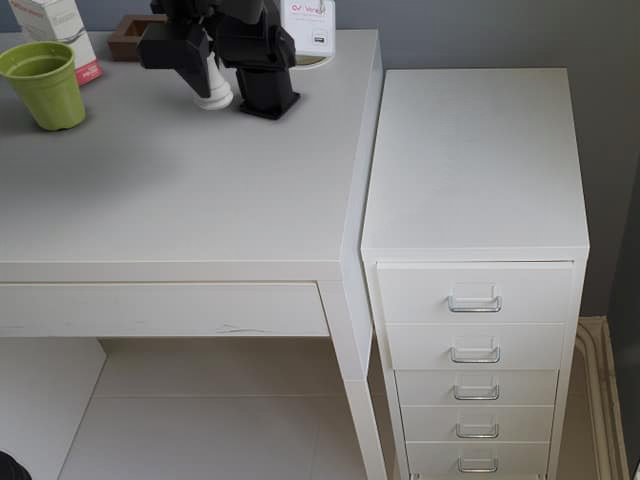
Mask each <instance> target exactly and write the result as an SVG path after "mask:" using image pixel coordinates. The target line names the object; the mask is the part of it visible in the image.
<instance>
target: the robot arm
mask: <svg viewBox="0 0 640 480" xmlns="http://www.w3.org/2000/svg"><path fill="white" fill-rule="evenodd" d="M149 6H150V7H149V8H150V10H151V13H152V15H166V16H167V20H166V22H165V23H150V24H149V25H148V27H147V28H146V30H145V31H144V33H143V35H142V37H141V38H140V40H139V42H138V44H137V46H136V48H135V50H136V53H137V56H138V59H139V61H138V62H139V64H140V66H141V68H142V69H145V70H174V71H175V72H176V73H177V74H178V76H180V77H181V78H182V79H183V80H184V81H185V82H186V84H187V85H188V86H189V87H190V88H191V90H192V89H193V90H194V91H195V92H196V93H197V94H198V95H199V96H200V97H201V98H210V97H211V87H210V78H209V71H208V63H207V58H208V57H209V56H210V55H211V53H212V51H213V52H214V54H215V56H214V61H215V64H216V66H217V68H218V71H219V72H220V61H221V62H222V65H223V67H224V68H225V69H236V70H235V72H234V73H235V77H236V81H237V86H238V90H239V93H240V97H241V99H242V100H243V101H242V102H241V103H239V105H238V106H237V108H238V110H239V111H240V112H244V113H249V114H253V115H258V116H260V117H265V118H269V119H273V120H279V119H281V118H282V117H283V116H284V115H285V114H286V113H287V112H288V111H289V110H290V109H291V108H292V107H293V106H294V105H295V104H297V102H298V101H299V100H301V98H302V97H301V93H299V92H296V91H294V89H293V85H292V79H291V75H290V69H291V68H294V67H296V66H297V64H298V62H297V57H296V53H297V48H296V42H295V39H294V37H293V36H291V35H290V33H289V32H288V31H287V30H286V29H285V28H284V27H283V26H282V23H281V13H280V10H279V8H278V7H277V5H276V3H275V1H274V0H151V1H150V3H149ZM205 31H207V34H208V36H209V37H210V38H212V40H213V41H208V39H207V35H206V32H205ZM219 56H220V57H219Z"/></svg>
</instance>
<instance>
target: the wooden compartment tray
mask: <svg viewBox="0 0 640 480" xmlns="http://www.w3.org/2000/svg"><path fill="white" fill-rule="evenodd" d="M166 20H167V16H166V14H129V13H128V14H123V17H122V18H121V20H120V21H119V23H118V24H117V26H116V27H115V28H114V30H113V32H112V33H111V35H110V36H109V38H108V39H107V41H106V43H107V46H108V48H109V50H110V53H111V56H112V59H113V61H114V62H140V61H139V59H138V56H137V53H136V50H135V48H136V46H137V44H138V42H139V40H140V38H141V37H142V35H143V33H144V31H145V30H146V28H147V27H148V25H149V24H150V23H165V22H166ZM219 58H220V56H219Z"/></svg>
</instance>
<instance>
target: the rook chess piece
mask: <svg viewBox="0 0 640 480" xmlns="http://www.w3.org/2000/svg"><path fill="white" fill-rule="evenodd" d="M205 32H206V35H207V39H208V41H213V40H212V38H210V37H209V36H208V34H207V31H205ZM214 56H215V54H214V52H213V51H212V53H211V55H210V56H209V57H208V58H207V63H208V71H209V78H210V87H211V97H210V98H201V97H200V96H199V95H198V94H197V93H196V92H195V91H194V90H193V89H192V88H191V91H192V95H193V97H194V98H193V101H194V103H195V104H196V105H198V107H200V108H201V109H203V110H207V111H216V110H217V111H218V110H222V109H224V108H226V107H227V106H228V105H230V104H231V102H232V101H233V98H234V93H233V91H232V90H231V89H232V87H231V85H230V83H229V81H227V80H226V79H225V77H224V76H223V75H222V73H220V70H219V71H218V68H217V66H216V64H215V61H214Z"/></svg>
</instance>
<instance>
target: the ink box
mask: <svg viewBox="0 0 640 480" xmlns="http://www.w3.org/2000/svg"><path fill="white" fill-rule="evenodd" d="M7 1H8V4H9V5H10V7H11V10H12V13H13V15H14V18H15V19H16V21H17V23H18V26H19V28H20V30H21V32H22V34H23V37H24V39H25V41H26V43H31V42H39V41H55V42H60V43H64V44H66V45H68V46H70V47H71V48H72V49H73V50H74V52H75V59H74V63H75V74H76V78H77V82H78V86H79V88H80V87H82V86H84V85H85V84H88V83H89V82H91V81H93V80H94V79H97V78H99V77H100V76H102V75H103V73H102V70H101V67H100V65H99V62H98V60H97V57H96V54H95V51H94V48H93V47H92V44H91V41H90V38H89V36H88V33H87V31H86V28H85V25H84V23H83V19H82V17H81V14H80V12H79V9H78V7H77V4H76V1H75V0H7Z"/></svg>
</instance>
